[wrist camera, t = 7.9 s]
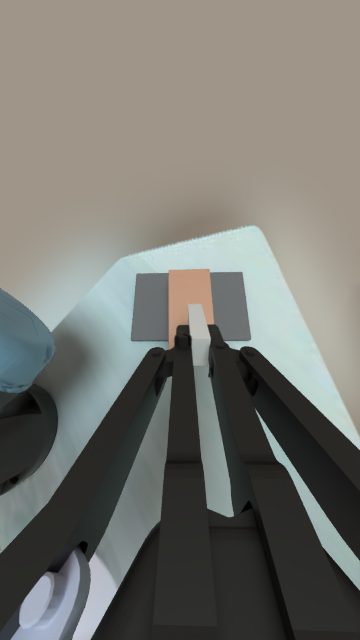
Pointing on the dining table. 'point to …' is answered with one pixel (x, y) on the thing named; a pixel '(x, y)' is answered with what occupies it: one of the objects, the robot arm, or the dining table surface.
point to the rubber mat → (155, 307)
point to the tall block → (188, 297)
